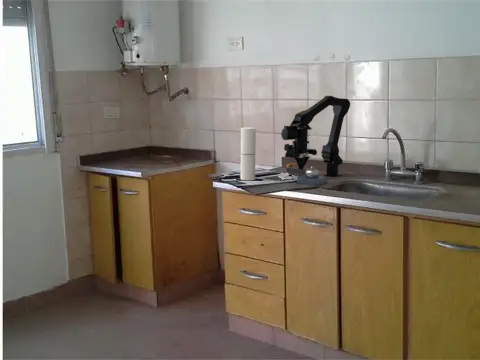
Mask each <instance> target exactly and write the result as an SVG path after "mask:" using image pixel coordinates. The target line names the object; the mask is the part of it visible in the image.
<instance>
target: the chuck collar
mask: <svg viewBox="0 0 480 360" xmlns="http://www.w3.org/2000/svg"><path fill="white" fill-rule="evenodd" d="M286 173H294V175H300V176H304V175H305V176H306V177H319V176H320V170H319V169H317V168H315V166H310V168H307V169H305V168H303V169H299V167H294V168H292V167H287V166H286Z"/></svg>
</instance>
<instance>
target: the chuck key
mask: <svg viewBox="0 0 480 360" xmlns="http://www.w3.org/2000/svg"><path fill="white" fill-rule="evenodd" d="M287 167H292V168H296V167H297V162H295V163H288V164H286V168H287ZM287 173H288V172H287ZM288 174H289V175H294V176H295V173H288ZM288 174H287V175H288Z"/></svg>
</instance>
